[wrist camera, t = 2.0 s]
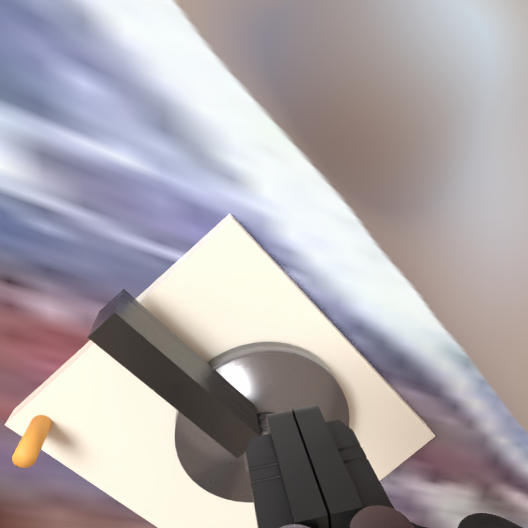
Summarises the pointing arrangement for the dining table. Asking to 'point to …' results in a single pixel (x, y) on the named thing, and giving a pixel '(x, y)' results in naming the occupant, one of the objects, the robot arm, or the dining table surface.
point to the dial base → (207, 347)
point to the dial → (216, 391)
